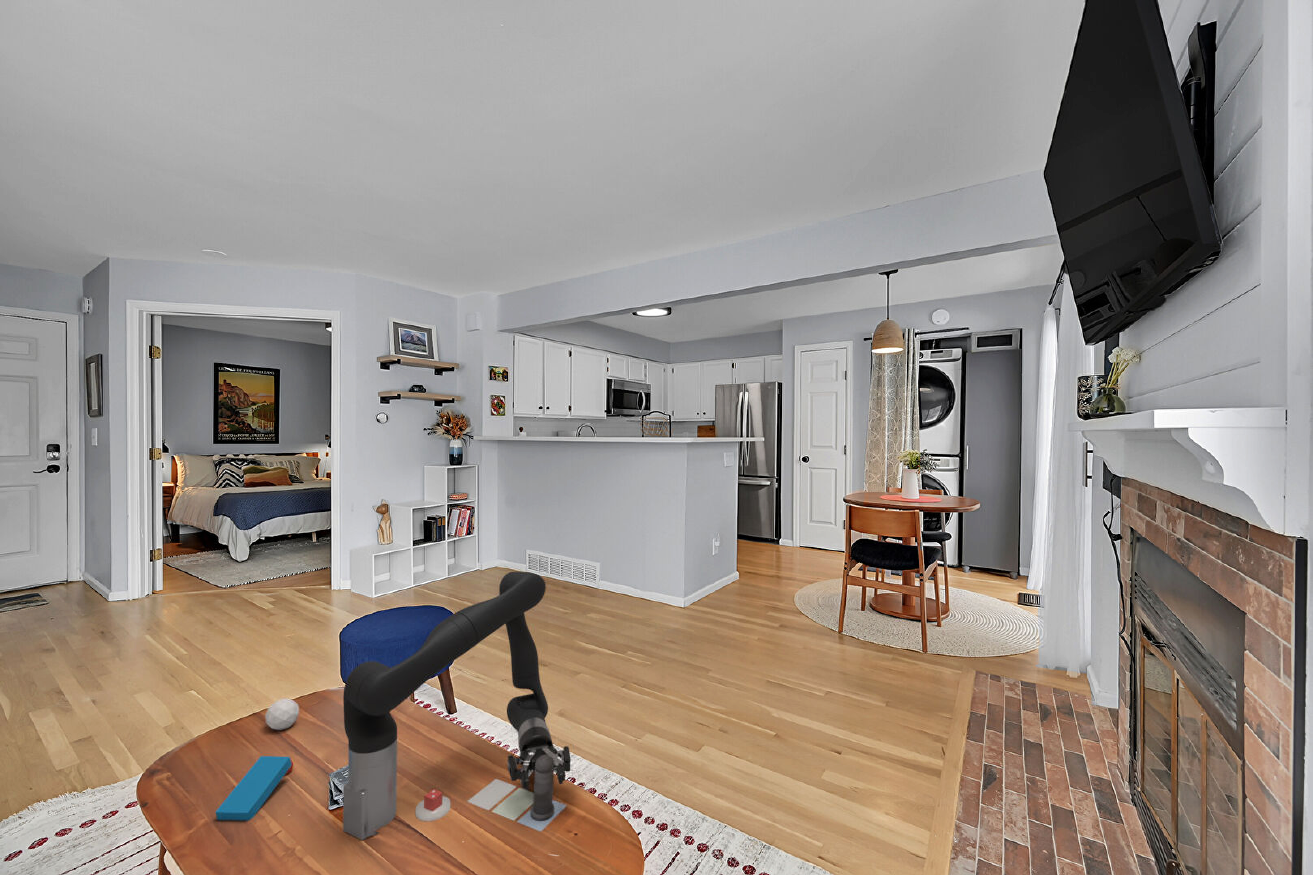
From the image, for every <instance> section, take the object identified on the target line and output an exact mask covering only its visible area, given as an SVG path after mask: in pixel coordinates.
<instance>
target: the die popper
mask: <svg viewBox="0 0 1313 875" xmlns="http://www.w3.org/2000/svg"><path fill="white" fill-rule="evenodd" d="M423 798H424V799H422V800H421V801H420V802H419V803H418V804H417V805H416V807H415V817H416V818H417V819H418V820H419V821H423V822H433V821H436V820H439V819H442V818H443V817H444V816H446V815H447V814H448V813H449V812H450V810H451V800H450V799H449V797H447V796H444V795H443V791H439V790H437V789H432V790H430V791H429V792H428V793H426V794H424V796H423Z"/></svg>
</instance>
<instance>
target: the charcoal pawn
mask: <svg viewBox="0 0 1313 875" xmlns="http://www.w3.org/2000/svg"><path fill="white" fill-rule="evenodd" d="M554 774H555V772H554V761H553V759H552V757H551V756H549V755H542V756H540V757H539V758H538V759H537V761H536V763H535V771H534V780H533V782H534V783H533V793H534V799H533V804H532V805H531V806H530V809H531V812H530V815H531V817H532V818H533V819H534V820H537V821H545V820H548V819H550V818H551V817H552V816H553V814H554V804H553V803H552V800H553V798H554V797H553V795H554V792H553V791H554Z"/></svg>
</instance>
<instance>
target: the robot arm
mask: <svg viewBox="0 0 1313 875" xmlns="http://www.w3.org/2000/svg"><path fill="white" fill-rule="evenodd" d="M546 584H547V583H546V581H545V580H544V578H543V577H542V576H540V575H539V574H537V573H535V572H531V571H530V572H529V571H510V572H507V573H506V574H505V575H504V576H503V577H502V578H501V581H500V583H499V590H498V591H499V595H497V596H496V597H493V598H490V599H487V600H484V601H480V602H477V603H475V604H474V603H473V604H472V605H470V606H466V607H464V608H462V609H459V610H458V611H455V613H453V614H451V615H450V616H448V617H447V618H445V619H443V620H442V621H441V622H439V623H438V624H437V625H436V626H435V627H434V628H433V629H432V631H431V632H430V633H429V635H428V636H427V638H426V639H425V641H424V643H423V644H422V646H421V647H419V649H418V650H417V651H416V652H415V653H413V654H412V655H410V656H409V657H408V658H406V659H404V660H403V661H401V662H400V663H398V664H396V665H393V666H391V667H390V666H388V665H385V664H383V663H381V662H379V661H371V660H369V661H364V662H362V663H360V664H359V665H357V666H356V667H354V668H353V670H352V671H351V672H350V673H349V675H348V677H347V678H346V681H345V683H344V684H345V685H344V688H343V697H342V698H343V701H342V703H343V719H344V720H343V725H344V731H345V735H346V737H347V740H348V746H347V747H348V762H347V763H348V764H347V769H348V770H347V783H345V784H344V785H343V794H342V795H343V799H342V800H343V801H342V803H343V805H342V806H343V808H342V809H343V810H342V823H343V824H342V831H343V832H345V833H347V834H349V835H351V836H353V837H355V838H358V840H359V839H360V840H362V841H363V840H365V839H366V838H368V837H369V838H370V837H372V836H375V835H378V834H380V832H379V831H377V830H379V829H382V828H383V827H385V826H387V825H388V824H389V823H391V822H392V821H393V820H394V819H395V817H396V816H397V815H396V814H397V792H398V791H397V789H398V788H397V787H398V786H397V784H398V783H397V782H398V779H397V778H398V771H397V770H398V725H397V723H396V720H395V719H394V717H393V716H392V715H391V711H394V709H396V708H397V707H399V706H400V705H401V704H402V703H403V702H405V700H407V699H408V698H409V697H410V696H411V695H412V694H413V693H414V692H416V691H417V690H418V689H419V688H421V686H423V685H424V684H426V682H428V681H429V680H430V679H431V678H432V677H435V675H436V674H437V673H439V672H441V671H442V670H444V669H445V668H446V667H447V666H448V665H450V664H451V663H453V662H454V661H455V660H457V659H458V658H460V657H462V656H463V655H465V654H466V653H468V652H469V651H471V649H473V648H474V647H476V646H477V645H478V644H480V643H481V642H482V641H484V639H486V638H488V637H489V636H490V635H492V634H493V633H494V632H495V633H496V631H498V630H499V629H500V628H501V627H503V626H504V625H505V627H506V633H507V637H508V643H509V650H510V664H511V679H512V680H511V681H512V686H513V687H515V688H516V689H521V690H529V691H531V692H532V693H528V694H523V695H519V696H515V697H513V698H511V699H510V700H509V702H508V703H507V706H506V715H507V719H508V721H509V723H510V725H511V726H512V728H514V730H516V732H517V735H518V736H517V741H518V742H517V743H518V749H519V754H520V755H519V756H518V757H514V755H511V754H510V755H507V771H508V774H509V777H510V780H511V782H515V781H517V780H519V781H520V783H521V784H520V785H521V788H522V789H524V790H525V791H526V790H527V791H529V790H530V779H529V777H530V776H531V774H533V772H535V763H536V761H537V759H538V758H539V757H540V756H542V755H549V756H551V757H552V759H553V761H554V774H556V778H557V781H558V784H559V785H563V784H564V782H565V781H566V772H567V773H568V772H570V771H571V760H572V759H571V754H570V753H571V752H570V748H569V746H566V745H565V746H563V749H562V750H557V749H556V748H555V746H554V742H553V739H552V735H551V733H550V729H549V727H548V726H547V723H546V717H547V715H548V712H549V704H548V701H547V698H546V696H545V693H544V690H543V687H542V684H541V678H540V670H539V668H540V666H539V656H538V650H537V647H536V643H535V641H534V638H533V636H532V634H531V631H530V630H529V626H528V624H527V620H526V615H525V613H526V612H528V611H529V610H531V609H533V608H535V607H536V606H537V605H538V604H539V603H540V602H541V601H542V600H543V599H544V596H545V593H546V590H547V588H546V586H547V585H546ZM519 764H520V765H521V767H520V769H519V768H518V765H519Z"/></svg>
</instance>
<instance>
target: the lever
mask: <svg viewBox="0 0 1313 875" xmlns="http://www.w3.org/2000/svg"><path fill="white" fill-rule="evenodd" d="M293 768H294V762H293V761H292V759H291V756H278V755H277V756H273V755H272V756H270V755H267V756H266V755H265V756H264V755H261V756H260V757H259V758H258V759H257V760H256V762H255V763H254V764H253V765H252V767H251V768H249V770H248V771H247V773H246V774H245V775H244V776H243V777H242V779H241V780H240V781H239V783H238V784H237V785H236V786H235V787H234V789H233V790H232V791H231V792H230V794H229V795H228V796H227V797H226V798H225V799H224V801H223V802H222V803H221V804H220V805H219V807H218V808H217V809H216V811H215V814H216V815H215V816H216V820H217V821H250V820H252V819H253V818H254V817H255V815H256V814H257V812H258V811H259V810H260V809H261V807H262V806H263V805H264V803H265V802H266V800H268V798H269V797H270V796H271V794H272V793H273V791H274V790H275V788H276V787H277V785H279V783H280V782H281V780H282V779H283V778H284V776H286V775H288V774H290V773H291V772H292V770H293Z"/></svg>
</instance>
